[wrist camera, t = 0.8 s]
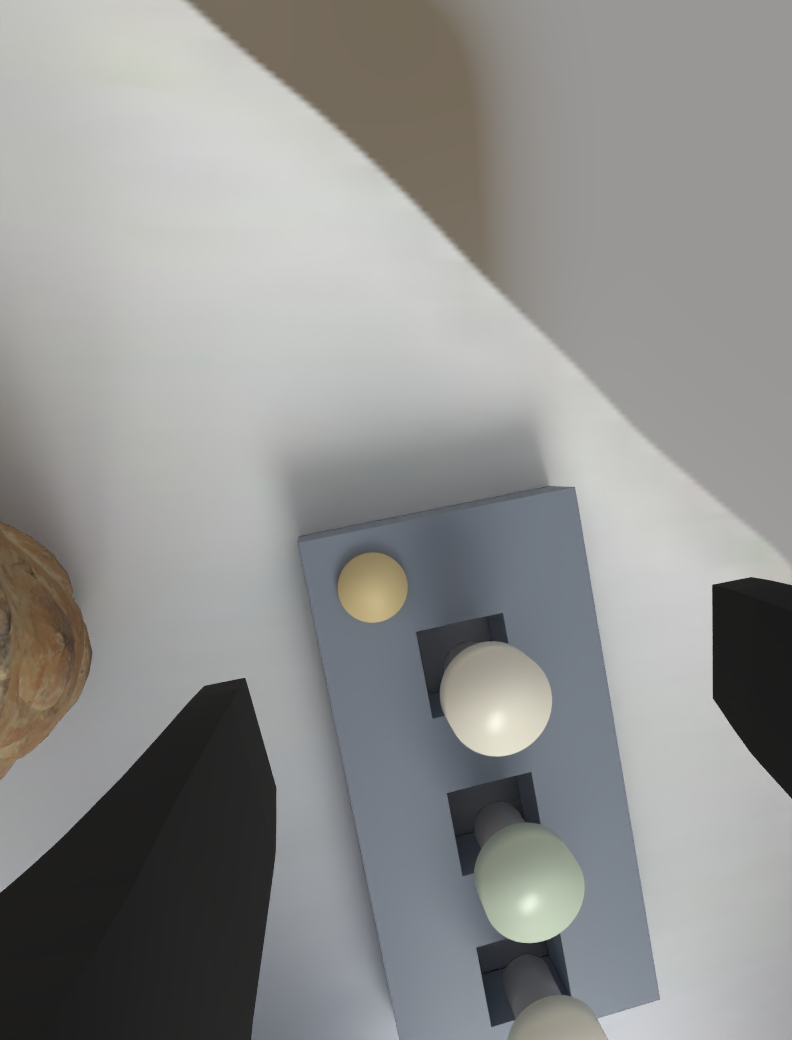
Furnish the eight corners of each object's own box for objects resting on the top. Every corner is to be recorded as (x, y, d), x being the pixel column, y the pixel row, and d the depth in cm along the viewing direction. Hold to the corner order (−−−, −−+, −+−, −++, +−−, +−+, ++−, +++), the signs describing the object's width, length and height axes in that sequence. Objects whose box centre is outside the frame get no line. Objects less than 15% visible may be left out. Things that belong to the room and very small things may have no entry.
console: (628, 952, 28) (664, 1005, 25) (397, 1020, 27) (407, 1083, 24) (549, 486, 26) (578, 487, 23) (298, 536, 25) (297, 543, 22)
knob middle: (546, 855, 24) (592, 927, 20) (463, 878, 24) (493, 955, 20) (532, 772, 24) (575, 829, 20) (447, 794, 23) (474, 856, 20)
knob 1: (519, 699, 24) (560, 742, 20) (433, 719, 23) (458, 767, 19) (503, 613, 23) (542, 639, 19) (416, 632, 23) (438, 663, 19)
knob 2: (573, 1004, 25) (623, 1102, 21) (492, 1029, 24) (526, 1133, 20) (559, 925, 24) (606, 1010, 21) (476, 949, 24) (508, 1039, 20)
